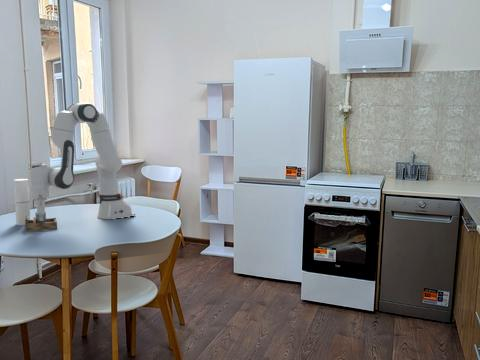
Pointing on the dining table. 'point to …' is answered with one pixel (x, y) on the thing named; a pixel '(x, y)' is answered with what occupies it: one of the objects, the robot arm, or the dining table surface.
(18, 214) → the cylindrical container
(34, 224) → the brown wooden open box
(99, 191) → the robot arm
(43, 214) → the jar
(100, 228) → the dining table surface
